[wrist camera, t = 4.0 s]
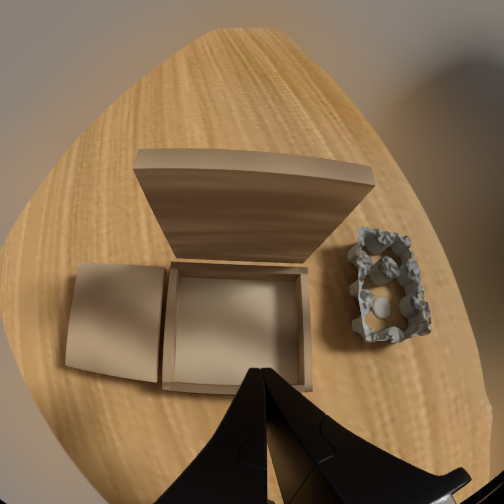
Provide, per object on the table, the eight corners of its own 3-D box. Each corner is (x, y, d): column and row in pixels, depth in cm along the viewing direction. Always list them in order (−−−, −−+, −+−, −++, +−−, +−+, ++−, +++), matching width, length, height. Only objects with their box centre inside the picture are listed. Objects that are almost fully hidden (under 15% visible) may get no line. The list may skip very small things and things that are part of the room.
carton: (303, 389, 21) (312, 391, 18) (78, 372, 19) (64, 371, 17) (299, 277, 25) (307, 267, 22) (91, 267, 23) (80, 256, 21)
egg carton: (408, 344, 23) (434, 338, 19) (343, 344, 23) (364, 339, 19) (402, 248, 28) (422, 231, 24) (343, 238, 27) (359, 217, 23)
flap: (302, 263, 22) (375, 185, 11) (176, 258, 21) (132, 168, 10) (302, 250, 22) (370, 163, 11) (178, 244, 22) (139, 146, 10)
